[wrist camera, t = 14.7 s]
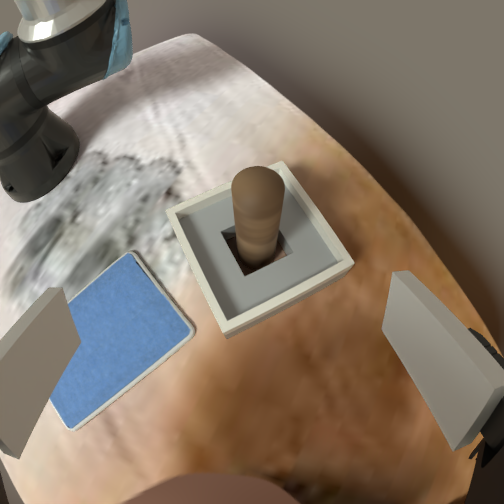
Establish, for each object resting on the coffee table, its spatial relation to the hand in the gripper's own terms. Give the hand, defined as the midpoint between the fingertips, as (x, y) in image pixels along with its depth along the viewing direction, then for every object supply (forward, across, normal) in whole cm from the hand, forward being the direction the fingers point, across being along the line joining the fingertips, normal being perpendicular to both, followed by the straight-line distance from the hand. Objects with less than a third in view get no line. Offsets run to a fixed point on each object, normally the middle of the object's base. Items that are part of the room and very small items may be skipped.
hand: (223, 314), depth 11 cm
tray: (+22, +2, -6) cm, 23 cm away
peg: (+21, +2, -6) cm, 23 cm away
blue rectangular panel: (+15, -16, -14) cm, 26 cm away
